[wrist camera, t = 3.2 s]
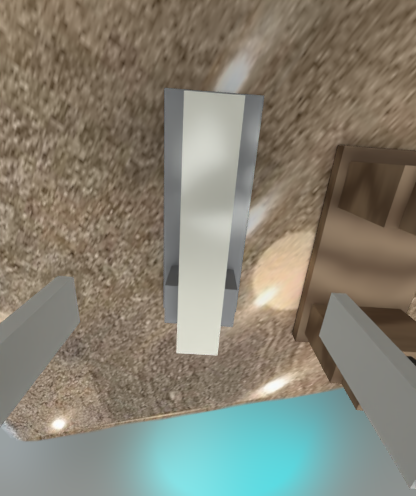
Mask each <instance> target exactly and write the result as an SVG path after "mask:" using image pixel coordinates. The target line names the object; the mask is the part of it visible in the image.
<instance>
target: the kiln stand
mask: <svg viewBox="0 0 416 496" xmlns="http://www.w3.org/2000/svg"><path fill="white" fill-rule="evenodd" d="M184 91H196V92H209V93H222V94H234V95H245V104H244V113H243V123H242V132H241V141H240V151H239V160H238V169H237V178H236V188H235V197H234V206H233V216H232V225H231V234H230V243H229V253H228V262H227V271H226V280H225V290H224V299H223V308H222V318H221V326H227V327H233V322H234V314H235V312H236V307H237V299H238V291H239V284H240V276H241V269H242V261H243V254H244V246H245V238H246V231H247V223H248V216H249V208H250V201H251V193H252V185H253V178H254V170H255V163H256V155H257V148H258V140H259V132H260V125H261V117H262V110H263V102H264V96H261V95H249V94H236V93H223V92H211V91H198V90H185V89H172V88H164V308H165V323H177V317H178V283H179V248H180V213H181V178H182V143H183V108H184Z"/></svg>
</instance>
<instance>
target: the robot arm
mask: <svg viewBox="0 0 416 496" xmlns="http://www.w3.org/2000/svg"><path fill="white" fill-rule="evenodd" d="M79 323H80V318H79V312H78V305H77V298H76V291H75V285H74V278H73V277H67V276H57V277H56V278H55V279H54V280H52V281H51V282H50V283H49V284H48V285H46V286H45V287H44V288H43V289H41V290H40V291H39V292H38V293H37V294H35V295H34V296H33V297H32V298H31V299H29V300H28V301H27V302H26V303H24V304H23V305H22V306H21V307H20V308H18V309H17V310H16V311H15V312H14V313H12V314H11V315H10V316H9V317H7V318H6V319H5V320H4V321H3V322H1V323H0V427H1V425H2V424H3V423H4V421H5V420H6V419H7V417H8V416H9V415H10V414H11V412H12V411H13V410H14V408H15V407H16V406H17V404H18V403H19V402H20V400H21V399H22V398H23V396H24V395H25V394H26V392H27V391H28V390H29V389H30V387H31V386H32V385H33V383H34V382H35V381H36V379H37V378H38V377H39V375H40V374H41V373H42V371H43V370H44V369H45V367H46V366H47V365H48V363H49V362H50V361H51V360H52V358H53V357H54V356H55V354H56V353H57V352H58V350H59V349H60V348H61V346H62V345H63V344H64V342H65V341H66V340H67V338H68V337H69V336H70V334H71V333H72V332H73V331H74V329H75V328H76V327H77V325H78V324H79ZM319 337H320V338H321V340H322V342H323V343H324V345H325V347H326V348H327V350H328V352H329V353H330V355H331V357H332V358H333V360H334V362H335V363H336V365H337V367H338V368H339V370H340V372H341V374H342V375H343V377H344V379H345V380H346V382H347V384H348V385H349V387H350V389H351V390H352V392H353V394H354V395H355V397H356V399H357V400H358V402H359V404H360V405H361V407H362V409H363V411H364V412H365V414H366V415H367V417H368V419H369V420H370V422H371V424H372V426H373V427H374V429H375V431H376V432H377V434H378V436H379V437H380V439H381V441H382V442H383V444H384V446H385V447H386V449H387V451H388V453H389V454H390V456H391V458H392V459H393V461H394V462H395V464H396V466H397V468H398V469H399V471H400V473H401V474H402V476H403V478H404V479H405V481H406V483H407V484H408V486H409V488H410V489H411V488H412V489H416V359H415V358H413V357H412V356H406V355H405V354H404V353H403V352H402V351H401V350H400V349H399V348H398V347H397V346H396V345H395V344H394V343H393V342H392V341H391V340H390V339H389V338H388V337H387V336H386V335H385V334H384V332H383V331H382V330H381V329H380V328H379V327H378V326H377V325H376V324H375V323H374V322H373V321H372V320H371V319H370V318H369V317H368V316H367V315H366V314H365V313H364V312H363V311H362V310H361V309H360V308H359V307H358V305H357V304H356V303H355V302H354V301H353V300H352V299H351V298H350V297H349V296H348V295H347V294H343V293H331V296H330V300H329V303H328V306H327V310H326V313H325V317H324V320H323V324H322V327H321V331H320V334H319Z"/></svg>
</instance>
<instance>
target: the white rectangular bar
mask: <svg viewBox="0 0 416 496" xmlns="http://www.w3.org/2000/svg"><path fill="white" fill-rule="evenodd" d="M244 104H245V95H234V94H222V93H209V92H196V91H184V108H183V143H182V178H181V213H180V248H179V283H178V317H177V352H176V353H185V354H202V355H218V345H219V336H220V327H221V318H222V308H223V299H224V290H225V280H226V271H227V262H228V253H229V243H230V234H231V225H232V216H233V206H234V197H235V188H236V178H237V169H238V160H239V151H240V141H241V132H242V123H243V113H244Z"/></svg>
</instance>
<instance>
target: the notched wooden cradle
mask: <svg viewBox="0 0 416 496" xmlns="http://www.w3.org/2000/svg"><path fill="white" fill-rule="evenodd" d="M415 292H416V151H411V150H398V149H385V148H372V147H358V146H345V145H344V146H338V147H337V152H336V156H335V160H334V164H333V168H332V172H331V176H330V180H329V185H328V189H327V193H326V197H325V201H324V205H323V209H322V213H321V218H320V222H319V226H318V230H317V234H316V238H315V242H314V246H313V251H312V255H311V259H310V263H309V267H308V271H307V275H306V279H305V284H304V288H303V292H302V296H301V300H300V304H299V308H298V313H297V317H296V321H295V325H294V329H293V333H292V335H293V337H294V339H295V341H297V342H309V343H310V345H311V347H312V349H313V350H314V352H315V354H316V356H317V358H318V360H319V362H320V364H321V366H322V368H323V370H324V372H325V374H326V375H327V377H328V379H329V381H330V383H338V384H342V385H343V387H344V389H345V391H346V392H347V394H348V396H349V398H350V399H351V401H352V403H353V405H354V407H355V408H356V410H363V409H362V407H361V405H360V404H359V402H358V400H357V399H356V397H355V395H354V394H353V392H352V390H351V389H350V387H349V385H348V384H347V382H346V380H345V379H344V377H343V375H342V374H341V372H340V370H339V368H338V367H337V365H336V363H335V362H334V360H333V358H332V357H331V355H330V353H329V352H328V350H327V348H326V347H325V345H324V343H323V342H322V340H321V338H320V337H319V334H320V331H321V327H322V324H323V320H324V317H325V313H326V310H327V306H328V303H329V300H330V296H331V293H343V294H347V295H348V296H349V297H350V298H351V299H352V300H353V301H354V302H355V303H356V304H357V305H358V307H359V308H360V309H361V310H362V311H363V312H364V313H365V314H366V315H367V316H368V317H369V318H370V319H371V320H372V321H373V322H374V323H375V324H376V325H377V326H378V327H379V328H380V329H381V330H382V331H383V332H384V334H385V335H386V336H387V337H388V338H389V339H390V340H391V341H392V342H393V343H394V344H395V345H396V346H397V347H398V348H399V349H400V350H401V351H402V352H403V353H404V354H405V355H406V356H412V357H413V358H415V359H416V321H415V320H413V319H412V318H411V317H410V316H409V315H407V314H406V313H407V311H408V308H409V306H410V304H411V302H412V299H413V297H414V295H415Z"/></svg>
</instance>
